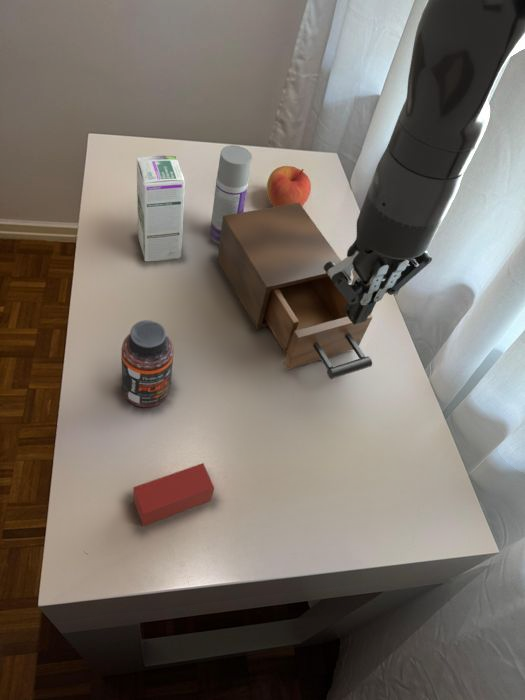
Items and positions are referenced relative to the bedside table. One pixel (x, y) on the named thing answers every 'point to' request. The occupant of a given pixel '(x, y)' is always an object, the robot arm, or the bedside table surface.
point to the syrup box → (160, 207)
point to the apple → (288, 186)
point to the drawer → (315, 325)
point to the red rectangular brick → (173, 494)
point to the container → (230, 186)
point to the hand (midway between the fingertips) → (355, 317)
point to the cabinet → (271, 254)
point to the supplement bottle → (147, 364)
